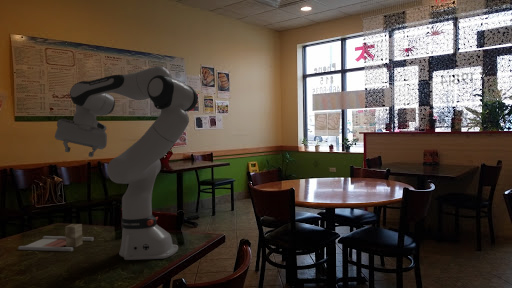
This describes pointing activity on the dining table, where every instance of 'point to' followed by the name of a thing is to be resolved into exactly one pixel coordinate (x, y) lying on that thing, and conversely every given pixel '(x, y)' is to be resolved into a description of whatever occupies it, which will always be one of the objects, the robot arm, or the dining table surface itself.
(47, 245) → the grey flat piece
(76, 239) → the maple block
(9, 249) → the dining table surface
